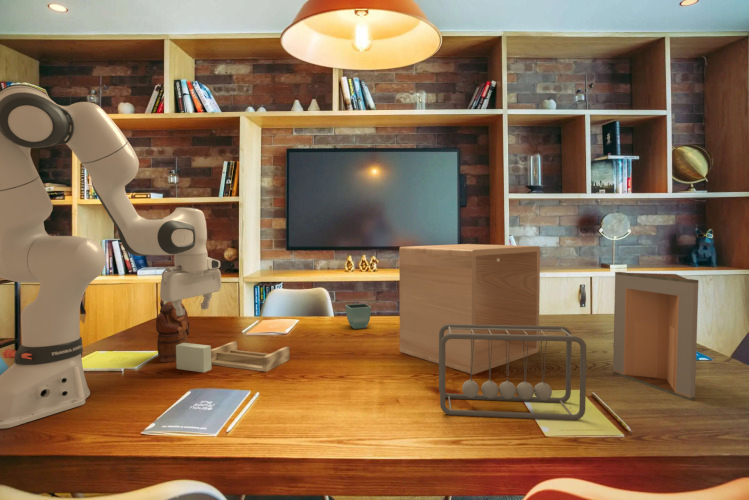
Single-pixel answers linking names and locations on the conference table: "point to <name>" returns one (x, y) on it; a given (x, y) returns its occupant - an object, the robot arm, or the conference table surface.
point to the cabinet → (656, 331)
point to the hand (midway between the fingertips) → (193, 312)
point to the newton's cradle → (508, 388)
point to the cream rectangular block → (193, 357)
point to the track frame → (247, 358)
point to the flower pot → (358, 315)
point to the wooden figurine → (171, 331)
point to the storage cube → (468, 301)
